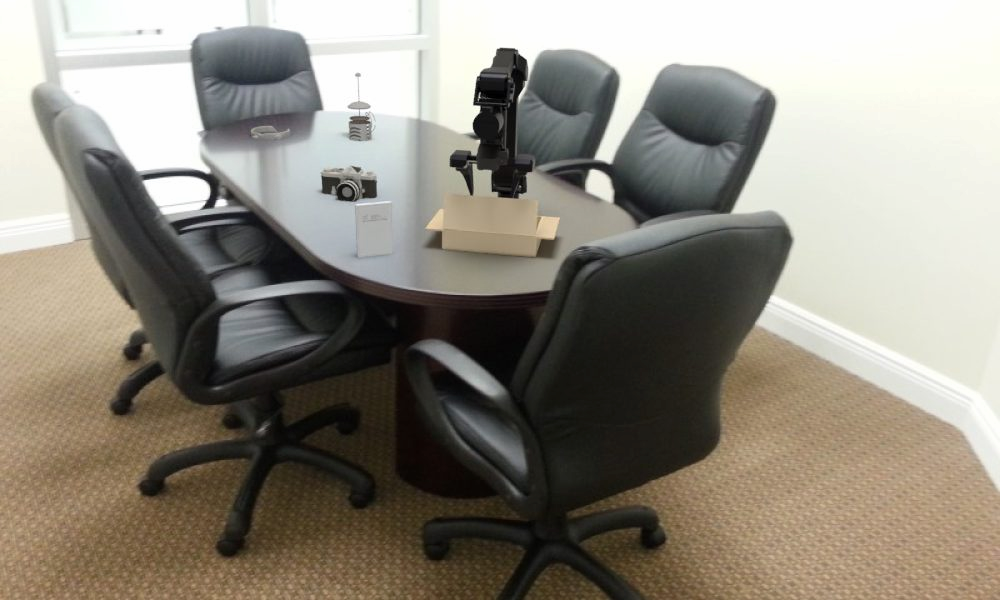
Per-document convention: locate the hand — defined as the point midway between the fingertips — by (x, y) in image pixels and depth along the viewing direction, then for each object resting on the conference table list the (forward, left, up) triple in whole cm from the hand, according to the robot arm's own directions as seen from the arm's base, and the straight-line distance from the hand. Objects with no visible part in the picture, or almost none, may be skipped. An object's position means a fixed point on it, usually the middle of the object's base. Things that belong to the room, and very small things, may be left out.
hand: (491, 197), depth 185 cm
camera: (-31, -45, -13) cm, 56 cm away
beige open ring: (-92, -94, -13) cm, 132 cm away
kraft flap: (+3, 0, -7) cm, 8 cm away
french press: (-97, -62, -13) cm, 116 cm away
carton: (-5, 0, -13) cm, 14 cm away
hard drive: (+10, -25, -13) cm, 30 cm away
